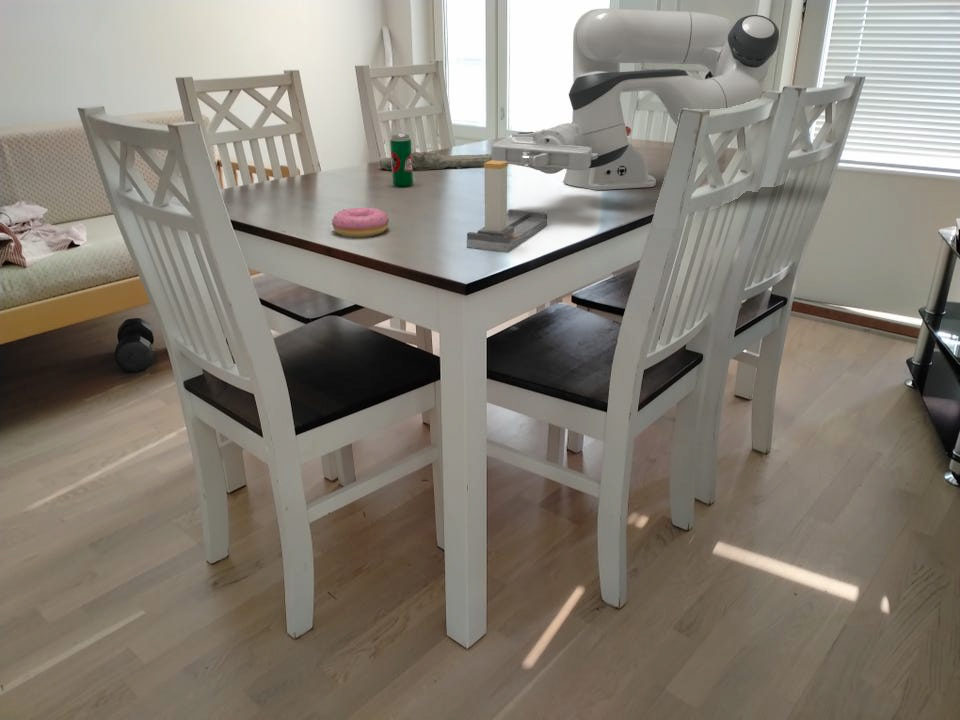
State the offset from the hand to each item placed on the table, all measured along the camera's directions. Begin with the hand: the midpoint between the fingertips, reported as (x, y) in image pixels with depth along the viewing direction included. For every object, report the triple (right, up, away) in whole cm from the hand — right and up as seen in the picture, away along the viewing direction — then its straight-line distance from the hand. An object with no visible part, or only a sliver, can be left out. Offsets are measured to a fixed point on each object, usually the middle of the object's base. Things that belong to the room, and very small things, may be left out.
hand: (527, 161), depth 140 cm
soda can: (-28, +5, +42) cm, 51 cm away
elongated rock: (-19, +15, +64) cm, 69 cm away
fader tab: (-6, -15, -7) cm, 18 cm away
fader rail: (-4, -14, -1) cm, 15 cm away
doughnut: (-32, -13, +3) cm, 35 cm away
